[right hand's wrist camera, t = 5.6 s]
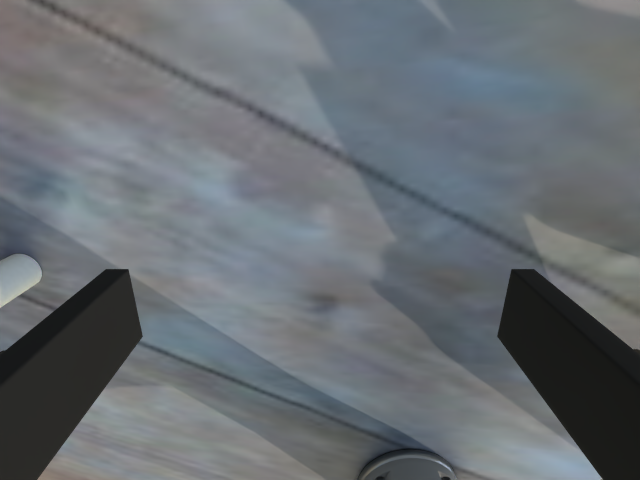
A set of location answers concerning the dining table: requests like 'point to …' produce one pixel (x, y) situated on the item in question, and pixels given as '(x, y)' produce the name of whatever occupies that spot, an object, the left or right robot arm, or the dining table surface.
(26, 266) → the white cylinder
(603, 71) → the dining table surface
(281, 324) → the dining table surface
